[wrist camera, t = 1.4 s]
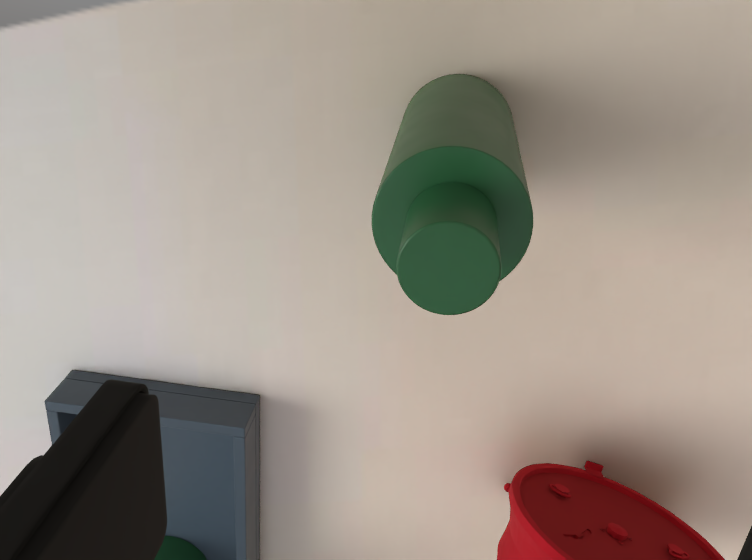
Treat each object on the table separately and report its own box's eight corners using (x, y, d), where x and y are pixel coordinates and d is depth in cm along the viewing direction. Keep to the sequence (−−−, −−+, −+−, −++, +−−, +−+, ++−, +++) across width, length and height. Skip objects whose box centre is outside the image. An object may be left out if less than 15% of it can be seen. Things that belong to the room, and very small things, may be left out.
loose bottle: (407, 68, 29) (362, 171, 17) (521, 80, 28) (559, 193, 16) (397, 176, 31) (351, 337, 19) (504, 188, 30) (525, 359, 18)
